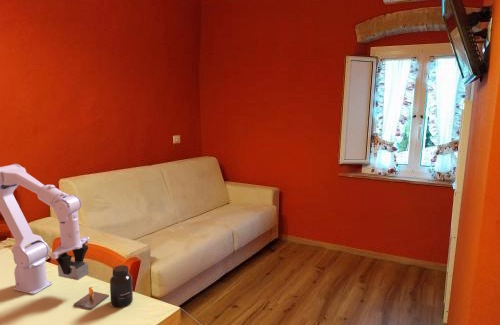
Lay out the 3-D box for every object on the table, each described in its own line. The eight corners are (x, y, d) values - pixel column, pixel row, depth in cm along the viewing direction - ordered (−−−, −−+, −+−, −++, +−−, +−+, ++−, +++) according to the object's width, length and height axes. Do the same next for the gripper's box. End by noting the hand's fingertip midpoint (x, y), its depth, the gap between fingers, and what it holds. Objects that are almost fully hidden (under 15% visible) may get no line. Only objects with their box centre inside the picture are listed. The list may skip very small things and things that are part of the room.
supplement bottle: (125, 309, 110) (123, 274, 108) (106, 307, 111) (104, 272, 109) (137, 298, 116) (135, 264, 114) (118, 295, 118) (116, 262, 116)
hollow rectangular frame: (58, 276, 117) (57, 265, 116) (70, 269, 121) (69, 259, 121) (77, 280, 114) (76, 268, 114) (88, 273, 119) (87, 262, 118)
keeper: (73, 305, 112) (72, 292, 111) (92, 292, 119) (91, 280, 119) (91, 309, 110) (90, 296, 109) (108, 296, 117) (108, 283, 116)
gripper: (61, 241, 107) (65, 282, 110) (95, 226, 121) (98, 262, 123) (43, 238, 110) (47, 278, 112) (79, 223, 123) (82, 259, 125)
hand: (73, 270), depth 118 cm, fingers closed on hollow rectangular frame, 5 cm apart
